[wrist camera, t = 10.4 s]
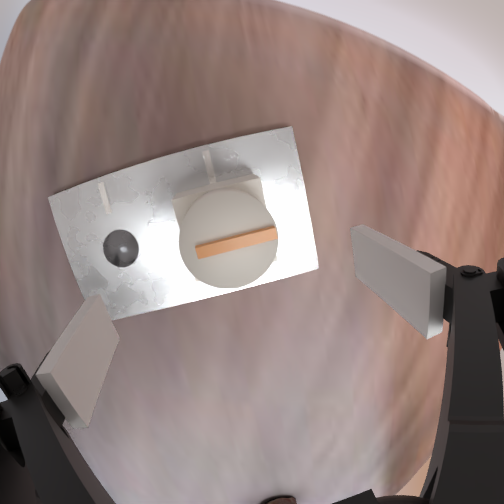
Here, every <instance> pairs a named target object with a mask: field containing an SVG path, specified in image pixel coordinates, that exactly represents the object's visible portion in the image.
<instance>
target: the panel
mask: <svg viewBox="0 0 504 504" xmlns="http://www.w3.org/2000/svg"><path fill="white" fill-rule="evenodd" d="M249 174H255V175H257V176H259V177H260V178H261V182H262V187H263V191H264V196H265V201H266V205H267V210H268V211H269V212H270V213H271V215H272V217H273V218H274V220H275V223H276V225H277V229H278V235H279V245H278V250H277V257H278V261H277V262H273V263H272V265H271V266H270V268H269V269H268V270H267V272H266V273H265V274H264V275H263V276H261V277H260V278H259V279H258V280H256V281H254V282H253V283H251V284H249V285H246V286H243V287H240V288H235V289H221V288H215V287H212V286H209V285H207V284H205V283H203V282H201V281H200V282H196V281H195V278H194V276H193V275H192V274H191V273H190V272H189V270H188V269H187V268H186V266H185V264H184V263H183V260H182V258H181V255H180V251H179V243H178V242H179V232H180V229H179V226H178V222H177V219H176V216H175V212H174V209H173V205H172V201H171V200H172V199H173V197H174V196H175V194H176V193H179V192H183V191H186V190H190V189H194V188H197V187H201V186H205V185H209V184H213V183H217V182H221V181H224V180H228V179H233V178H237V177H241V176H245V175H249ZM48 199H49V203H50V206H51V210H52V213H53V216H54V219H55V223H56V226H57V229H58V232H59V235H60V238H61V241H62V244H63V246H64V249H65V252H66V255H67V257H68V260H69V263H70V265H71V268H72V271H73V273H74V276H75V278H76V281H77V283H78V286H79V288H80V290H81V293H82V295H83V297H84V300H86V299H87V297H89V296H93V295H97V294H100V295H101V297H102V300H103V302H104V304H105V307H106V309H107V311H108V314H109V316H110V318H111V320H116V319H121V318H125V317H129V316H134V315H138V314H142V313H147V312H151V311H155V310H159V309H164V308H168V307H172V306H176V305H180V304H184V303H189V302H193V301H197V300H201V299H205V298H209V297H213V296H217V295H221V294H225V293H229V292H232V291H236V290H240V289H244V288H248V287H252V286H256V285H259V284H263V283H267V282H271V281H274V280H278V279H282V278H286V277H289V276H293V275H297V274H300V273H304V272H308V271H311V270H315V269H318V268H319V267H318V260H317V254H316V248H315V242H314V236H313V230H312V224H311V219H310V213H309V208H308V202H307V197H306V191H305V186H304V181H303V176H302V171H301V166H300V161H299V156H298V152H297V147H296V142H295V138H294V133H293V129H292V126H291V127H285V128H280V129H275V130H270V131H265V132H260V133H255V134H250V135H246V136H241V137H237V138H232V139H228V140H224V141H220V142H215V143H211V144H207V145H204V146H200V147H196V148H192V149H188V150H185V151H181V152H177V153H174V154H170V155H167V156H164V157H160V158H157V159H153V160H150V161H147V162H144V163H141V164H137V165H134V166H131V167H128V168H125V169H122V170H119V171H116V172H113V173H110V174H108V175H105V176H102V177H99V178H96V179H94V180H91V181H88V182H85V183H83V184H80V185H77V186H75V187H72V188H70V189H67V190H65V191H62V192H60V193H57V194H55V195H52V196H50V197H48Z"/></svg>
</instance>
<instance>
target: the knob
mask: <svg viewBox="0 0 504 504" xmlns="http://www.w3.org/2000/svg"><path fill="white" fill-rule="evenodd" d="M171 201H172V205H173V209H174V212H175V216H176V219H177V222H178V226H179V229H180V232H179V242H178V243H179V251H180V255H181V258H182V260H183V263H184V264H185V266H186V268H187V269H188V270H189V272H190V273H191V274H192V275H193V276H194V278H195V281H196V282H200V281H201V282H203V283H205V284H207V285H209V286H212V287H215V288H221V289H235V288H240V287H243V286H246V285H249V284H251V283H253V282H254V281H256V280H258V279H259V278H260V277H261V276H263V275H264V274H265V273H266V272H267V270H268V269H269V268H270V266H271V265H272V263H273V262H277V261H278V257H277V250H278V245H279V235H278V229H277V225H276V223H275V220H274V218H273V217H272V215H271V213H270V212H269V211H268V210H267V205H266V201H265V196H264V191H263V187H262V182H261V178H260V177H259V176H257V175H255V174H249V175H245V176H241V177H237V178H233V179H228V180H224V181H221V182H217V183H213V184H209V185H205V186H201V187H197V188H194V189H190V190H186V191H183V192H179V193H176V194H175V196H174V197H173V199H172V200H171Z"/></svg>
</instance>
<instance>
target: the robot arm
mask: <svg viewBox="0 0 504 504" xmlns="http://www.w3.org/2000/svg"><path fill="white" fill-rule="evenodd" d="M350 231H351V239H352V247H353V255H354V264H355V274H356V277H357V278H358V279H359V280H360V281H362V282H363V283H364V284H365V285H366V286H367V287H369V288H370V289H371V290H372V291H373V292H374V293H376V294H377V295H378V296H379V297H380V298H381V299H383V300H384V301H385V302H386V303H387V304H388V305H389V306H391V307H392V308H393V309H394V310H395V311H396V312H397V313H398V314H400V315H401V316H402V317H403V318H404V319H405V320H406V321H407V322H409V323H410V324H411V325H412V326H413V327H414V328H415V329H416V330H417V331H418V332H420V333H421V334H422V335H423V336H424V337H425V338H426V339H429V338H431V337H433V336H435V335H437V334H439V333H441V332H442V327H443V318H444V319H445V320H446V321H447V322H449V323H450V324H449V332H448V340H447V347H448V351H447V363H446V374H445V383H444V391H443V398H442V405H441V411H440V417H439V423H438V428H437V434H436V439H435V443H434V448H433V452H432V457H431V461H430V465H429V469H428V473H427V476H426V480H425V483H424V486H423V488H422V491H421V494H420V497H416V496H406V495H399V496H398V495H393V496H383V497H378V498H376V497H375V495H374V493H373V491H372V489H370V490H367V491H365V492H362V493H360V494H357V495H355V496H352V497H349V498H347V499H344V500H341V501H338V502H335V503H332V504H504V406H503V384H502V383H503V382H502V369H501V359H500V350H499V342H498V339H499V341H500V343H501V345H502V348H503V350H504V258H501V259H500V260H498V263H497V271H496V272H491V273H485V272H484V270H483V269H481V268H480V267H476V266H470V265H467V266H461V267H458V268H456V267H454V266H452V265H450V264H448V263H446V262H444V261H443V260H442V261H441V259H439V258H437V257H435V256H433V255H431V254H429V253H427V252H422V251H418V250H417V251H415V250H414V249H412V248H410V247H408V246H406V245H404V244H402V243H400V242H398V241H396V240H394V239H392V238H390V237H388V236H386V235H384V234H382V233H380V232H378V231H376V230H374V229H372V228H370V227H368V226H366V225H363V224H362V225H359V226H355V227H351V228H350ZM119 340H120V338H119V336H118V333H117V331H116V329H115V327H114V325H113V323H112V320H111V318H110V316H109V314H108V311H107V309H106V307H105V304H104V302H103V300H102V297H101V295H100V294H97V295H93V296H89V297H87V299H86V300H85V301H84V303H83V304H82V305H81V307H80V308H79V310H78V311H77V312H76V314H75V315H74V317H73V318H72V320H71V321H70V322H69V324H68V325H67V327H66V328H65V330H64V331H63V333H62V334H61V336H60V337H59V339H58V340H57V342H56V343H55V345H54V346H53V348H52V349H51V350H50V351H49V352H48V353H47V355H46V356H45V358H44V359H43V362H41V364H40V365H39V367H38V369H37V370H36V372H35V373H34V375H33V377H32V378H31V380H30V378H29V377H28V375H27V374H26V372H25V370H24V369H23V367H22V366H21V364H18V363H16V364H12V365H10V366H7V367H6V368H5V369H3V370H2V371H1V372H0V388H1V389H2V391H3V392H4V394H5V395H6V397H7V398H8V400H6V401H4V402H1V403H0V504H116V503H115V502H114V501H113V499H112V498H111V497H110V495H109V494H108V493H107V491H106V490H105V489H104V487H103V486H102V485H101V483H100V482H99V480H98V479H97V478H96V476H95V475H94V473H93V472H92V470H91V469H90V467H89V466H88V464H87V463H86V461H85V460H84V458H83V457H82V455H81V453H80V452H79V450H78V449H77V447H76V445H75V444H74V442H73V440H72V439H71V437H70V435H69V433H68V432H67V430H66V429H65V428H64V427H63V425H62V424H63V422H64V419H66V420H67V421H68V423H69V424H70V425H71V427H72V428H88V427H89V424H90V421H91V417H92V414H93V411H94V408H95V405H96V402H97V399H98V397H99V394H100V391H101V388H102V385H103V382H104V380H105V377H106V374H107V371H108V369H109V366H110V363H111V361H112V358H113V355H114V353H115V350H116V347H117V345H118V342H119Z"/></svg>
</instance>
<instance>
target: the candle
mask: <svg viewBox="0 0 504 504" xmlns="http://www.w3.org/2000/svg"><path fill="white" fill-rule="evenodd" d="M266 504H297V503H296V500H295V498H293V497H291V498H279V499H275V500H273V501H271V502H267V503H266Z"/></svg>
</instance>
